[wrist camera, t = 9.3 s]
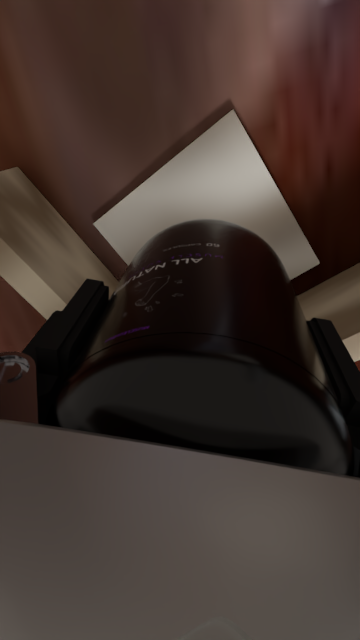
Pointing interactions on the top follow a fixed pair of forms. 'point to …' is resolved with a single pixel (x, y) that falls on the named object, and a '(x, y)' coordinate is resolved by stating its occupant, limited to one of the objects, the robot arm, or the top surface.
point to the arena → (160, 213)
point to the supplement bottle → (207, 356)
